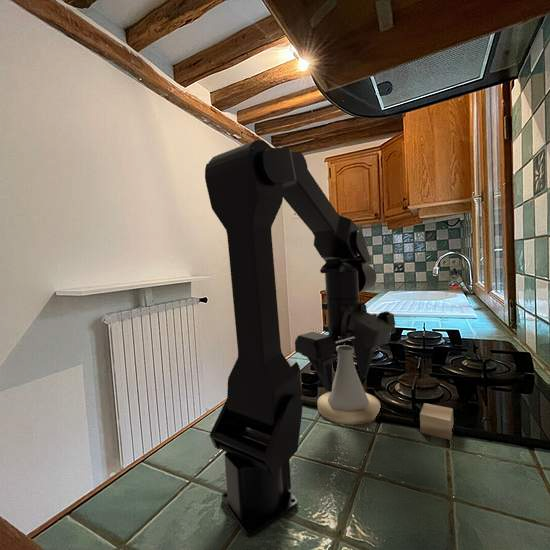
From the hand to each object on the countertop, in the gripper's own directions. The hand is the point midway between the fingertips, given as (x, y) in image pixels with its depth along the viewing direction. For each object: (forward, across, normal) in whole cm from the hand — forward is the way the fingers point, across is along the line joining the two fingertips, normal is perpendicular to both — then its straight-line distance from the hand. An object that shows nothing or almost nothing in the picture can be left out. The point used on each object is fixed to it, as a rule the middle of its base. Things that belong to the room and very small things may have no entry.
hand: (347, 383), depth 54 cm
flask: (+4, 0, 0) cm, 4 cm away
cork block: (+5, +5, -13) cm, 15 cm away
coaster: (+4, 0, 0) cm, 4 cm away
